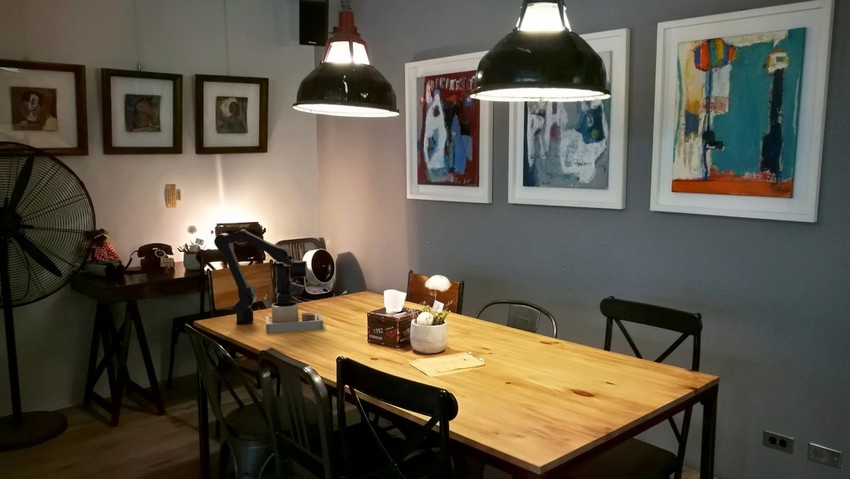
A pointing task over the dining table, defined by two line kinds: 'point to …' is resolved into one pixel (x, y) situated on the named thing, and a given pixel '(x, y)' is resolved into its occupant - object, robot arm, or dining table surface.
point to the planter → (285, 312)
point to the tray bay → (294, 325)
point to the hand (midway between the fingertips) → (284, 313)
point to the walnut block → (308, 316)
